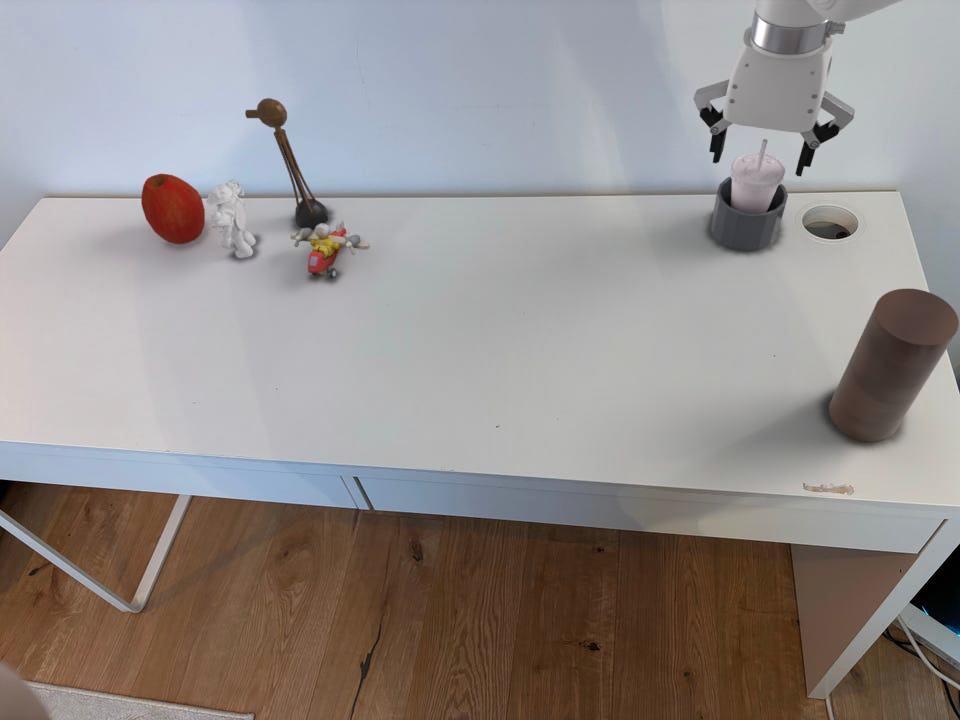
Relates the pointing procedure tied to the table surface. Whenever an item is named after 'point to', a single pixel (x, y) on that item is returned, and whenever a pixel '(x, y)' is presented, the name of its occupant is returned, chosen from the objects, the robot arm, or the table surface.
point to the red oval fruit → (173, 208)
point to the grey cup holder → (746, 221)
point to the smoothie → (755, 181)
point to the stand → (892, 363)
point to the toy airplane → (327, 246)
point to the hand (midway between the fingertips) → (758, 162)
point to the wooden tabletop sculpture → (290, 163)
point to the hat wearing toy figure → (231, 217)
